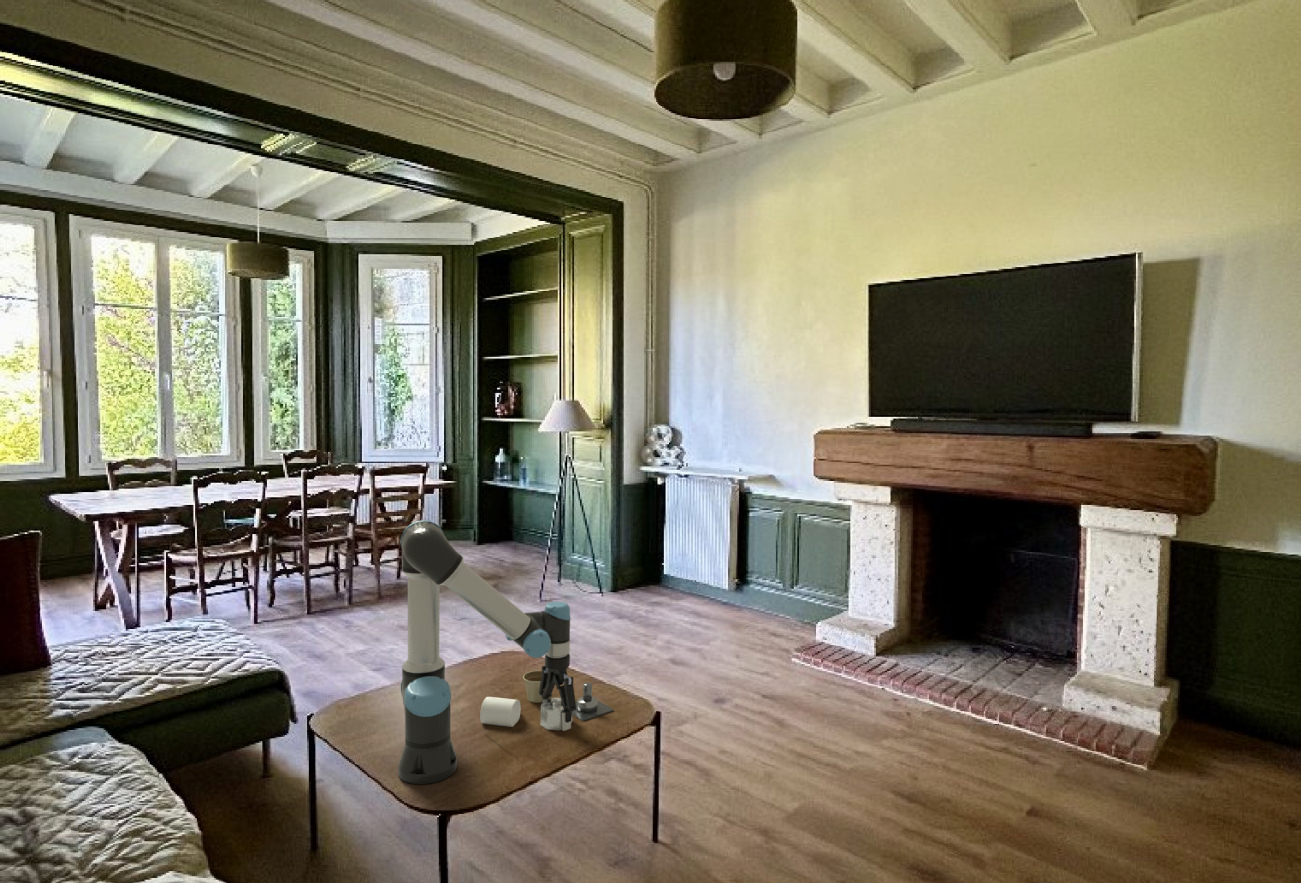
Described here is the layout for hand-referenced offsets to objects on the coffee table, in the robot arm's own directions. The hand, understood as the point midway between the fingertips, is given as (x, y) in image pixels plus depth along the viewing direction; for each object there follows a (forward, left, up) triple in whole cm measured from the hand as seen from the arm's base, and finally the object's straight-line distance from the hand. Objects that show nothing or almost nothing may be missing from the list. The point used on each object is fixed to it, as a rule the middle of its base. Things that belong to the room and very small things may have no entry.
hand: (556, 725), depth 221 cm
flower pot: (+5, +19, 0) cm, 20 cm away
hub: (+13, +2, 0) cm, 13 cm away
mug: (-11, +13, -1) cm, 17 cm away
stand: (0, 0, 0) cm, 0 cm away
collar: (0, 0, +1) cm, 1 cm away
